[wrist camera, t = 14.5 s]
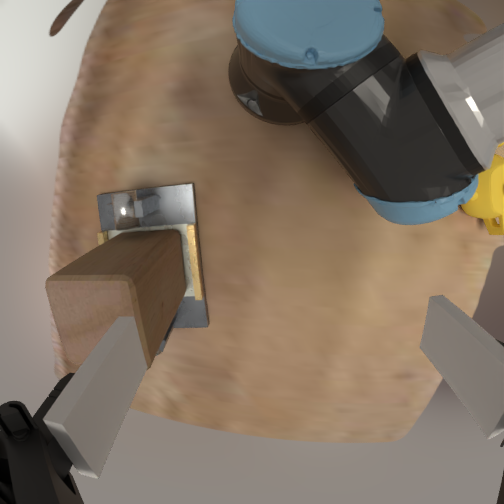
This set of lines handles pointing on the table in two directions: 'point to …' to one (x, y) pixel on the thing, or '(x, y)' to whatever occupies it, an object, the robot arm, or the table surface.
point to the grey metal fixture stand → (162, 218)
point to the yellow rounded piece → (489, 197)
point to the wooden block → (119, 291)
